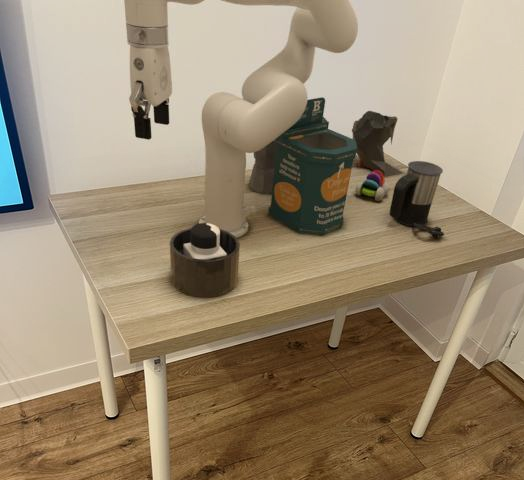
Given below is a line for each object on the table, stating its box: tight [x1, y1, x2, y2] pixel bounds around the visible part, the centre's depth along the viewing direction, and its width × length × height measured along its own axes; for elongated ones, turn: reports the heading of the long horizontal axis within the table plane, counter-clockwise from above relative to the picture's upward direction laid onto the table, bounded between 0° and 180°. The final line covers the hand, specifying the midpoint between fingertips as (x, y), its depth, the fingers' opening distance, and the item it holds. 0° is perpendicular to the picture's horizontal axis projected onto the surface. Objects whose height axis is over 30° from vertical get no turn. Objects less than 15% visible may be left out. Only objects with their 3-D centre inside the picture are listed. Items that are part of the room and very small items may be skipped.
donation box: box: [267, 97, 357, 236], centre depth 133 cm, size 16×16×28 cm
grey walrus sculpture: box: [351, 110, 403, 178], centre depth 169 cm, size 14×15×18 cm
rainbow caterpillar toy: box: [354, 170, 391, 202], centre depth 155 cm, size 8×10×7 cm
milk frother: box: [389, 160, 445, 238], centre depth 139 cm, size 14×16×15 cm
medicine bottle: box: [183, 223, 227, 260], centre depth 112 cm, size 7×7×12 cm
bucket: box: [169, 227, 241, 298], centre depth 113 cm, size 14×14×9 cm
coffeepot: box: [248, 140, 276, 195], centre depth 149 cm, size 15×9×18 cm, turn 37°
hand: (153, 130), depth 109 cm, fingers open, 9 cm apart
